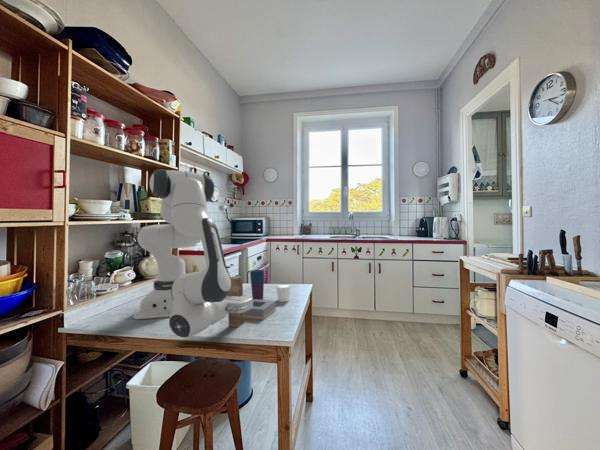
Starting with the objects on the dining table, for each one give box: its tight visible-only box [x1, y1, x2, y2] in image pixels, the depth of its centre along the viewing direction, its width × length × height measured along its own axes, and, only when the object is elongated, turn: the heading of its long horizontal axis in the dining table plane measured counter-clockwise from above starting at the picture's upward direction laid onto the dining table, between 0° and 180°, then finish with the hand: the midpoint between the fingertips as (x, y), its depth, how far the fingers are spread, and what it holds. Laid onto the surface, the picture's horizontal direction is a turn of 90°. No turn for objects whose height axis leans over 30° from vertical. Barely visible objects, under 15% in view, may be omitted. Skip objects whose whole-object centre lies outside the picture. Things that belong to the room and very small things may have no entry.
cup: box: [249, 269, 265, 300], centre depth 130 cm, size 7×7×15 cm
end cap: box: [243, 298, 277, 320], centre depth 113 cm, size 12×12×4 cm
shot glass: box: [275, 284, 291, 303], centre depth 131 cm, size 7×7×7 cm
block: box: [227, 276, 245, 328], centre depth 101 cm, size 4×4×18 cm
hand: (236, 296), depth 102 cm, fingers closed on block, 4 cm apart
